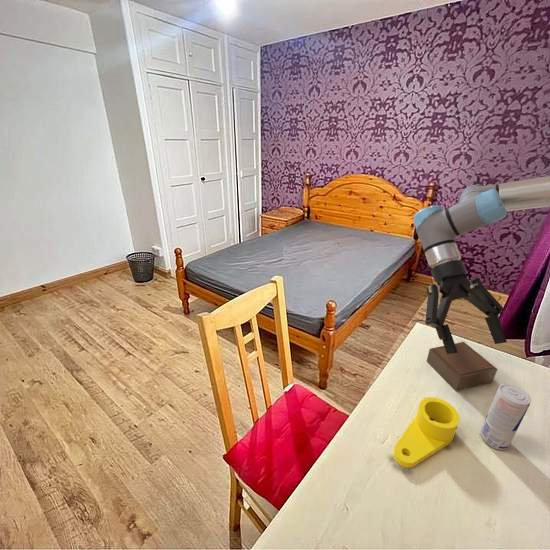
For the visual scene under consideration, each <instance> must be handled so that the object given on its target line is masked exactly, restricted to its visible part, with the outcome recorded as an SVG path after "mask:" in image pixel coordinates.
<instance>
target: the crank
mask: <svg viewBox="0 0 550 550" xmlns="http://www.w3.org/2000/svg"><path fill="white" fill-rule="evenodd" d="M459 423H460V415H459V412H458V410H456V408H455V407H454V406H453V405H451V403H449V402H447V401H446V400H444V399H442V398H438V397H431V396H430V397H424V398H423V399H422V400H420V402H419V404H418V408H417V411H416V414H415V417H414V418H413V419H412V421H411V422H410V423H409V424H408V426H407V428H406V429H405V430H404V432H403V434H401V437H400V438H399V440H397V442H396V444H395V445H394V447H393V452H392V454H393V458H394V461H396V463H397V464H399V465H400V466H401V467H403V468H406V469H412V468H414V467H415V466H417V465H419V464H421V462H423V461H425V460H426V459H428V458H429V457H431V456H432V455H434V454H436V453H438V452H439V451H440V450H442V449H444V448H445V447H447V446H449V445H450V444H451V443H452V442H453V440H454V437H455V434H456V432H457V429H458V426H459Z"/></svg>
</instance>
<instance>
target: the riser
mask: <svg viewBox="0 0 550 550" xmlns="http://www.w3.org/2000/svg"><path fill="white" fill-rule="evenodd" d="M454 343H455V346H456V349H457V352H458V353H452V354H447V353H446V350H445V347H444V345H441V346H436V347H431V348H429V350H428V354H427V358H426V363H428V365H430V367H431V368H432V369H433V370H434V371H435V372H436V373H437V374H438V375H439V376H440V377H441V378H442V379H443V380H444V381H445V382H446V383H447V384H448V385H449V386H450V387H451V388H452V390H454V391H455V392H459V391H463V390H466V389H471V388H475V387H479V386H483V385H488V384H491V383H492V384H493V382H494V380H495V377H496V374H497V372H498V368H497V367H496V366H494V365H493V364H492V363H491V362H490V361H488V360H487V359H486V358H485V357H483V355H481V354H480V353H478V352H477V351H476V350H474V349H473V347H471V346H470V345H469V344H467V343H466V342H465V341H461V342H454Z"/></svg>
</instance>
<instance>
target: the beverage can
mask: <svg viewBox="0 0 550 550" xmlns="http://www.w3.org/2000/svg"><path fill="white" fill-rule="evenodd" d="M531 403H532V397H531V395H530V394H529V393H528V392H527V391H526V390H524V389H523V388H521V387H519V386H517V385H515V384H511V383H502V384H500V385H499V386H498V388H497V390H496V392H495V395H494V397H493V400H492V402H491V405H490V406H489V410H488V412H487V415H486V416H485V419H484V422H483V424H482V425H481V429H480V432H479V434H480V437H481V439H482V441H484V443H486V444H487V445H488V446H490V447H491V448H493V449H495V450H500V451H503V450H504V451H505V450H507V449H508V448H509V447H510V445H511V443H512V441H513V439H514V437H515V435H516V433H517V431H518V430H519V427H520V425H521V423H522V421H523V419H524V418H525V415H526V413H527V411H528V409H529V407H530V406H531Z"/></svg>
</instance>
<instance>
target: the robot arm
mask: <svg viewBox="0 0 550 550" xmlns="http://www.w3.org/2000/svg"><path fill="white" fill-rule="evenodd" d="M541 208H550V175H546V176H540V177H534V178H533V177H532V178H527V179H520V180H515V181H514V180H513V181H507V182H501V183H495V184H488V185H482V184H473V185H470V186H468V187H466V188H465V189H464V190H463V191H462V193H461V194H460V196H459V198H458V203H456V204H455V205H452V206H450V207H447V208H445V209H443V207H442V206H441V205H438V204H436V205H435V204H433V205H430V206H427V207H423V208H422V209H419V211H417V212H416V213H415V214H414V216H413V223H414V226H415V232H416V234H417V237H418V239H419V241H420V244H421V247H422V249H423V252H424V255H425V256H424V257H425V258H426V261H427V264H428V267H429V268H431V269H430V273H431V275H432V278H433V280H434V282H435V283H432V284H430V285H428V286H427V287H426V293H427V301H426V302H427V303H426V311H425V312H426V313H425V320H424V322H425V325H426V326H430V327H432V328H435V331H436V333H437V336H438V339H439V340H440V341H442V344H443V346H444V347H445V350H446V353H447V354H452V353H458V352H457V349H456V346H455V343H456V342H455V341H454V338H453V335H452V332H451V329H450V326H449V323H448V324H445V321H446V319H447V316H448V313H449V310H450V307H451V304H452V302H454V301H456V300H458V301H460V300H464V301H468V302H469V303H470V304H472V305H473V306H474V307H475V308H476V309H478V310H479V311H480V312H482V313H483V314H484V315H485V316H487V317H484V319H485V322H486V324H487V328H488V330H489V332H490V334H491V338H492V341H493V342H494V344H495V345H497V344H507V343H508V341H507V338H506V336H505V333H504V331H503V324H502V321H501V318H500V316H499V315H501V314H502V312H503V311H504V310H505V308H504V307H503V306H502V304H500V302H499V301H498V300H497V298H495V296H493V294H491V292H490V291H488V289H487V288H486V287H485V286H484V284H483V282H482V280H481V279H480V277H477V276H476V277H474V278H472V279H468V277H467V274H468V271H467V267H466V265H465V263H464V261H463V260H461V259H462V255H461V253H460V250H459V248H458V245H457V243H456V241H455V238H457V237H459V236H461V235H464V234H467V233H470V232H473V231H474V230H477V229H480V228H483V227H486V226H488V225H492V224H494V223H495V222H498V221H500V220H502V219H505V218H506V217H507V216H508V212H512V211H513V212H514V211H515V212H516V211H524V210H533V209H541ZM440 294H441V295H440ZM439 295H440V296H439ZM439 297H440V298H439Z"/></svg>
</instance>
